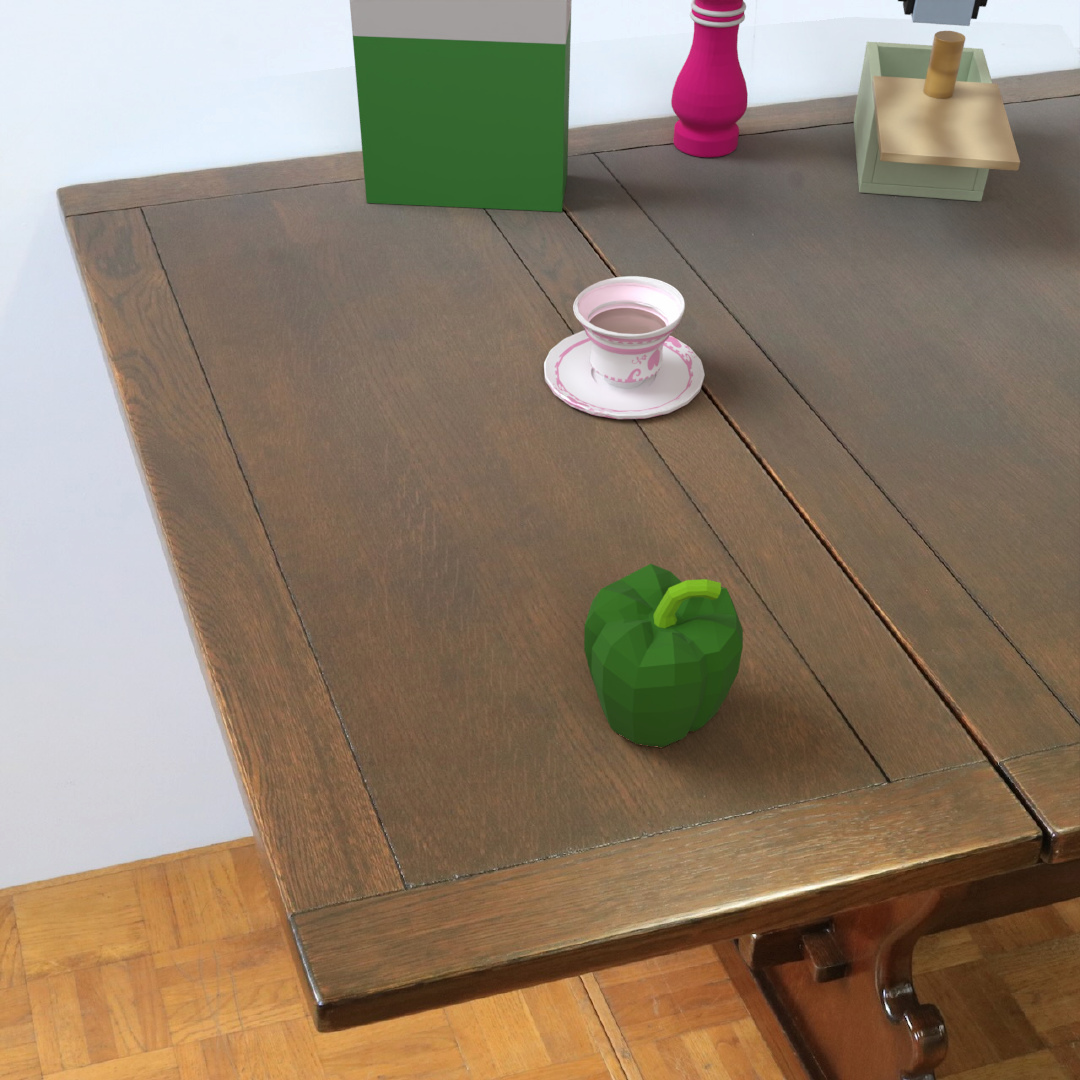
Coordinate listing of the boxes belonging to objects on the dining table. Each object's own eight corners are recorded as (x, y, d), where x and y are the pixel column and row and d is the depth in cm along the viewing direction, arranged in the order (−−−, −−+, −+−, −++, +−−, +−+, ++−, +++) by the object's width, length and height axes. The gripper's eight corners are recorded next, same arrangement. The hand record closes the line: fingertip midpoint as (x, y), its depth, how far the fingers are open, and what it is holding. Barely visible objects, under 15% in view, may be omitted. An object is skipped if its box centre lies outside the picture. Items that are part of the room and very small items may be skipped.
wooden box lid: (995, 92, 119) (1011, 27, 115) (1018, 171, 107) (1036, 101, 103) (871, 84, 120) (883, 19, 117) (880, 161, 108) (893, 92, 105)
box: (964, 128, 133) (983, 48, 127) (981, 201, 121) (1002, 117, 115) (853, 120, 134) (866, 41, 128) (858, 192, 122) (874, 108, 117)
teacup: (634, 443, 93) (639, 370, 89) (510, 377, 99) (509, 305, 95) (736, 373, 99) (745, 301, 95) (614, 314, 105) (617, 245, 101)
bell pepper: (557, 741, 72) (560, 609, 66) (612, 642, 78) (620, 512, 72) (703, 791, 70) (722, 660, 63) (749, 686, 76) (770, 555, 69)
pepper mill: (723, 124, 133) (745, -89, 120) (754, 154, 128) (781, -64, 114) (656, 133, 131) (671, -81, 118) (685, 164, 126) (704, -57, 113)
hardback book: (366, 202, 119) (342, -80, 104) (380, 166, 125) (360, -107, 109) (562, 211, 118) (568, -72, 103) (567, 174, 124) (573, -100, 108)
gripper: (1086, -219, 110) (1029, 3, 122) (878, -229, 112) (843, -9, 124) (1101, -198, 105) (1041, 33, 117) (882, -208, 107) (845, 20, 119)
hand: (939, 9), depth 120 cm, fingers closed on block, 5 cm apart
